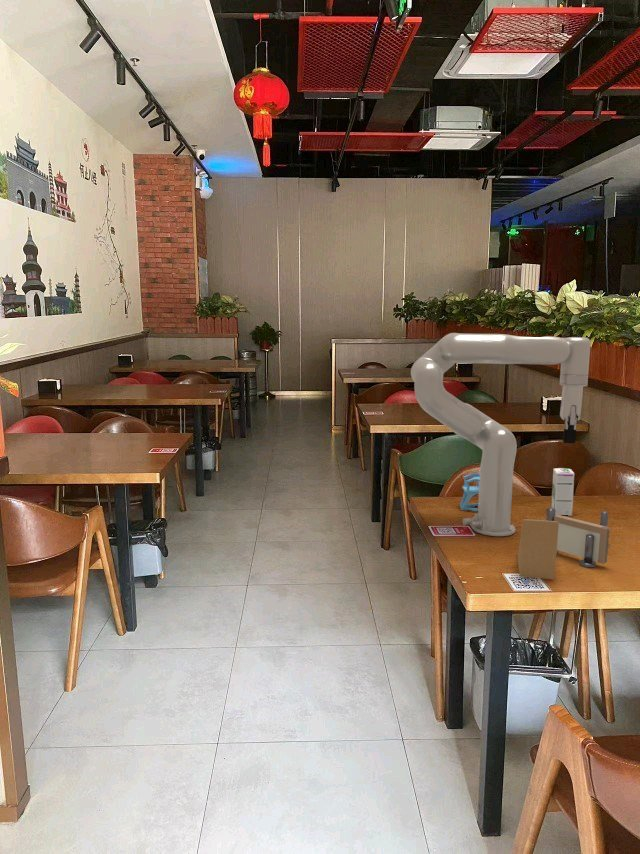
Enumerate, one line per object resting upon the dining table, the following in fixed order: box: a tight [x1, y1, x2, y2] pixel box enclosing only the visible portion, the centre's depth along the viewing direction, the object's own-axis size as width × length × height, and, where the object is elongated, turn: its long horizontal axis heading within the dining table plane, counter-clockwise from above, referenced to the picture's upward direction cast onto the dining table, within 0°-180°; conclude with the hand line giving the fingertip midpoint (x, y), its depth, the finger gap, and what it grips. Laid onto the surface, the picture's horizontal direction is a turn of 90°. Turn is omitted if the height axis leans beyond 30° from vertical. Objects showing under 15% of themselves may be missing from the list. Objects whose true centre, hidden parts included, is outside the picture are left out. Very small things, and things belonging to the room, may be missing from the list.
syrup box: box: [550, 467, 575, 517], centre depth 211 cm, size 6×6×14 cm
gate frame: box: [545, 507, 610, 569], centre depth 175 cm, size 21×16×12 cm
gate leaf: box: [554, 515, 611, 565], centre depth 172 cm, size 14×2×9 cm, turn 42°
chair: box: [459, 472, 480, 512], centre depth 216 cm, size 8×8×12 cm
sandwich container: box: [517, 518, 559, 580], centre depth 167 cm, size 9×15×15 cm, turn 165°
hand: (569, 442), depth 191 cm, fingers closed
